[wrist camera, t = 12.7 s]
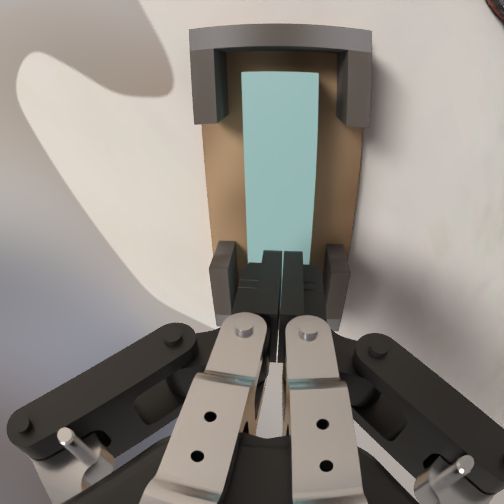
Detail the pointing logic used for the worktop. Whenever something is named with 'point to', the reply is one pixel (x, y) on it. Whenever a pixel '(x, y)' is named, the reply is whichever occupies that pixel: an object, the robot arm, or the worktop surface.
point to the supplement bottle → (497, 7)
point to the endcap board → (328, 140)
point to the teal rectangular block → (279, 160)
